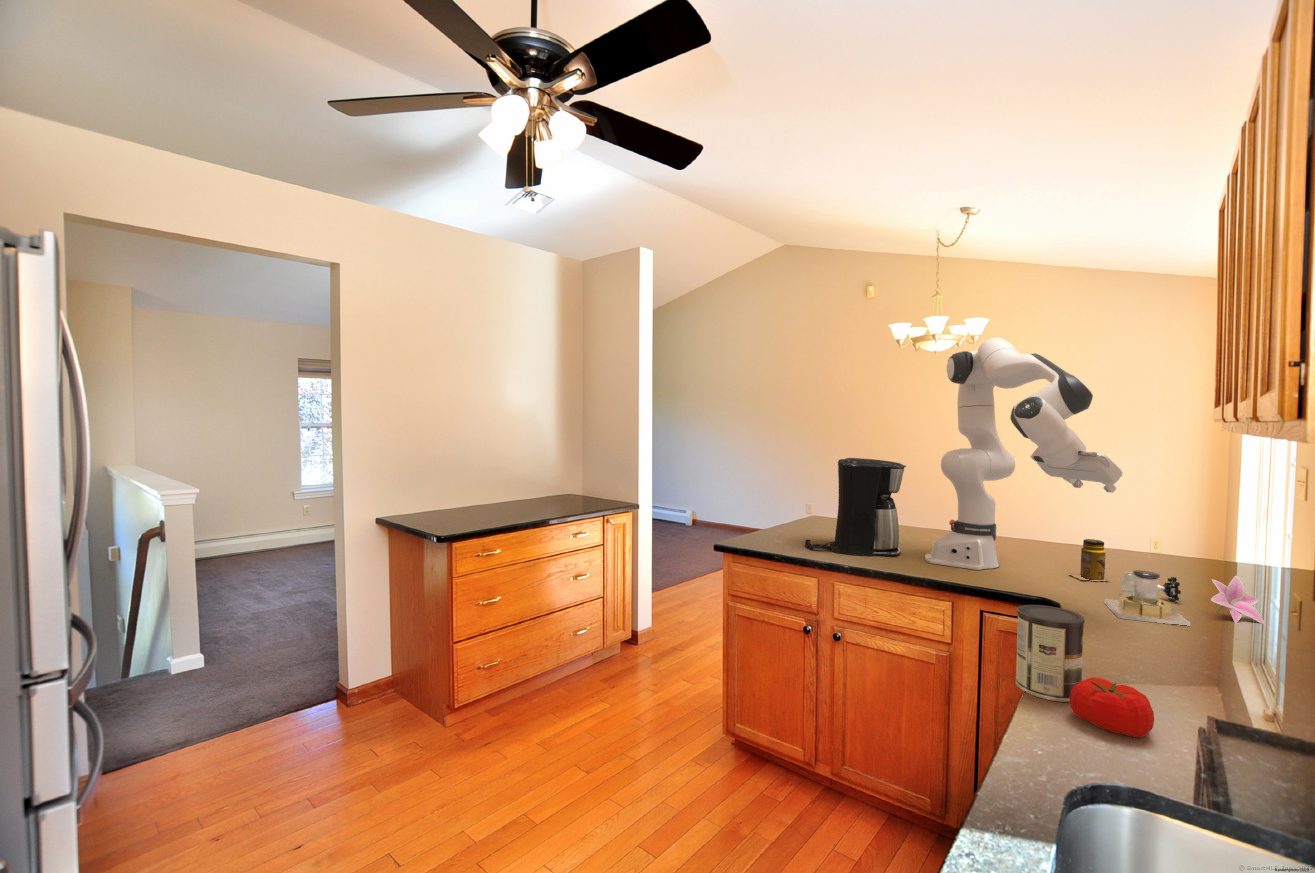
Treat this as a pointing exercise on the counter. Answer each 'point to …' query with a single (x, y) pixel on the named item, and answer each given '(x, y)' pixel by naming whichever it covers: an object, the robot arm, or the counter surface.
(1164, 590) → the valve
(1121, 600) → the flange
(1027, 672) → the coffee can
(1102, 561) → the condiment
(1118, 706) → the tomato
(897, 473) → the coffee maker
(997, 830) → the counter surface
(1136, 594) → the black-capped jar
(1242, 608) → the lily
